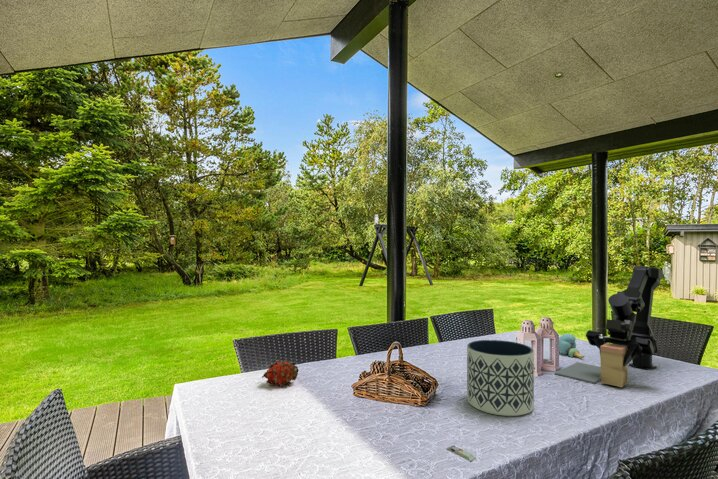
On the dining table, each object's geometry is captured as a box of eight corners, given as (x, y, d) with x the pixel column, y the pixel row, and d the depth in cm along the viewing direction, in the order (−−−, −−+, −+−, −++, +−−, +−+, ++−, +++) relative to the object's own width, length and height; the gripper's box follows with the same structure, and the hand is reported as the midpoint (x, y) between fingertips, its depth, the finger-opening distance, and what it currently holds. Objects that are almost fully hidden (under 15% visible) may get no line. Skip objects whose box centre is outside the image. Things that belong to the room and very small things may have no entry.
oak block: (607, 378, 136) (606, 343, 136) (627, 383, 131) (627, 346, 131) (600, 382, 132) (600, 345, 132) (621, 387, 127) (621, 349, 128)
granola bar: (477, 460, 86) (477, 455, 86) (470, 463, 85) (470, 458, 85) (451, 447, 91) (452, 443, 92) (445, 450, 90) (445, 445, 90)
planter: (501, 422, 103) (501, 359, 104) (454, 399, 120) (454, 343, 120) (548, 409, 112) (548, 350, 112) (498, 389, 128) (498, 337, 128)
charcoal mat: (577, 363, 155) (577, 362, 155) (615, 371, 145) (615, 370, 145) (554, 374, 142) (554, 372, 142) (594, 384, 132) (594, 382, 133)
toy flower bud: (577, 340, 159) (554, 331, 171) (576, 362, 160) (553, 352, 171) (591, 339, 161) (567, 330, 173) (590, 360, 162) (566, 351, 173)
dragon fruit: (301, 388, 133) (265, 397, 129) (295, 367, 140) (260, 376, 136) (302, 372, 128) (264, 382, 124) (295, 351, 135) (259, 360, 131)
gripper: (587, 307, 142) (574, 343, 134) (651, 313, 127) (640, 355, 120) (596, 326, 147) (584, 362, 139) (658, 334, 132) (648, 375, 125)
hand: (612, 363), depth 131 cm, fingers closed on oak block, 6 cm apart
